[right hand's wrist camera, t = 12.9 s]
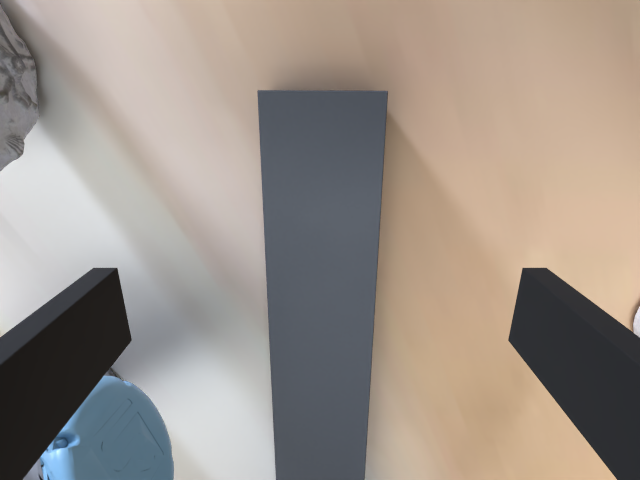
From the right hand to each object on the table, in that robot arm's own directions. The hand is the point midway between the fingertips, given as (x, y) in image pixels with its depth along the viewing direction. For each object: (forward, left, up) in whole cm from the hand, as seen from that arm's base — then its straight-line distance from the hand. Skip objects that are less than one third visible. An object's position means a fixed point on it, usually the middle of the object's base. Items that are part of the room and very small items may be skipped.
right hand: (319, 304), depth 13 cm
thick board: (-3, +28, -26) cm, 38 cm away
